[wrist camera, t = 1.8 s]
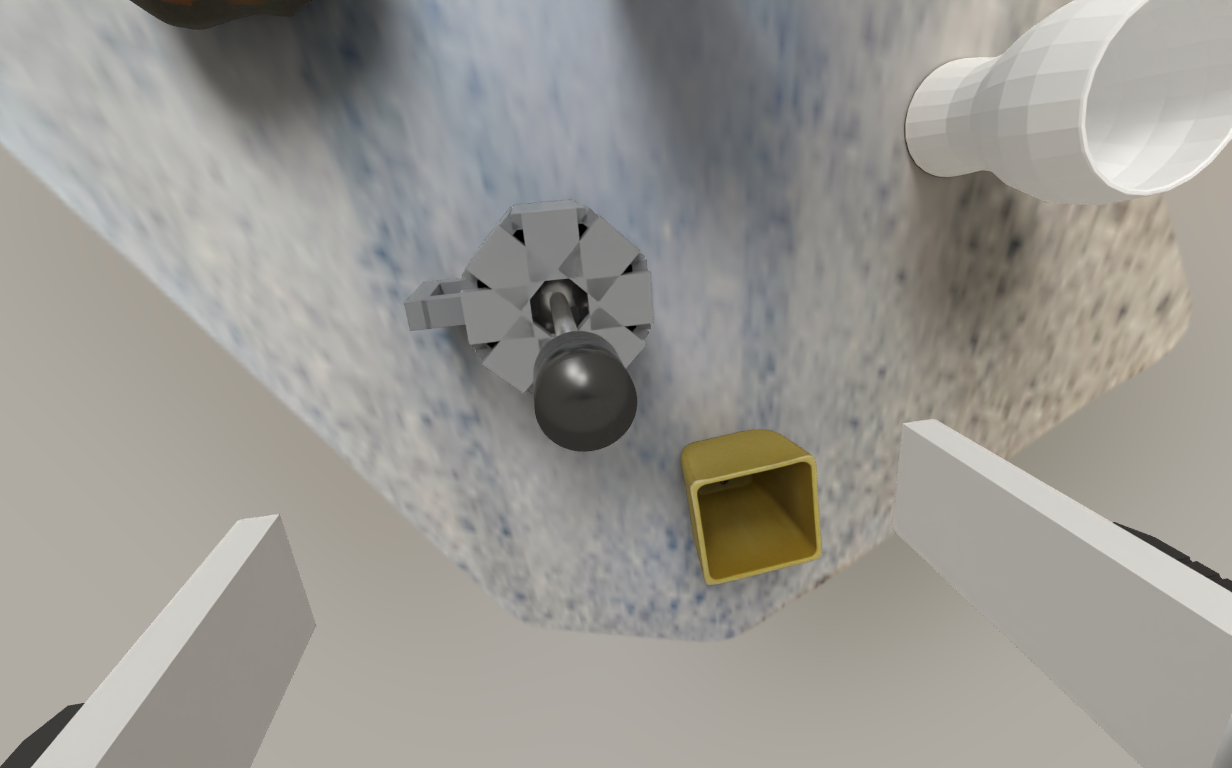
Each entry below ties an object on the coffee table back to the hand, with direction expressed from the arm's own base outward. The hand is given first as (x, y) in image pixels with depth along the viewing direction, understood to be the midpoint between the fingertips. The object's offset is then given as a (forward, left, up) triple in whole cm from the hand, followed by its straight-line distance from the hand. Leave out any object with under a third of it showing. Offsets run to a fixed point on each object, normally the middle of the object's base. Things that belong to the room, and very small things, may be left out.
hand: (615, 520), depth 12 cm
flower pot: (+17, +12, -31) cm, 37 cm away
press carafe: (0, -2, -31) cm, 31 cm away
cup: (-8, +30, -31) cm, 44 cm away
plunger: (0, 0, -23) cm, 23 cm away
